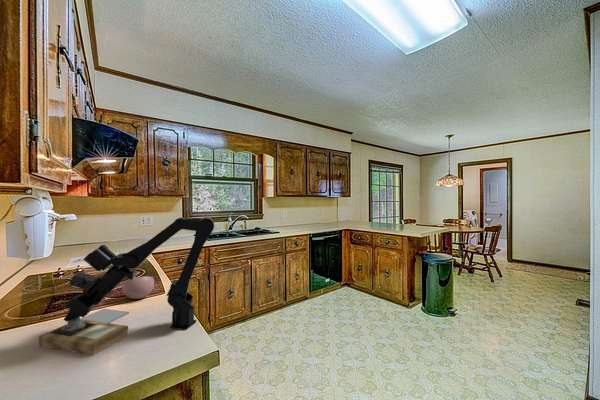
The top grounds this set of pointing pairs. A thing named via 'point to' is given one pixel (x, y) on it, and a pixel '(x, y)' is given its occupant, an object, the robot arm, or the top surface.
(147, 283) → the mortar and pestle
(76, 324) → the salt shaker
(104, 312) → the slate tile
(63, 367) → the top surface
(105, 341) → the puzzle board
